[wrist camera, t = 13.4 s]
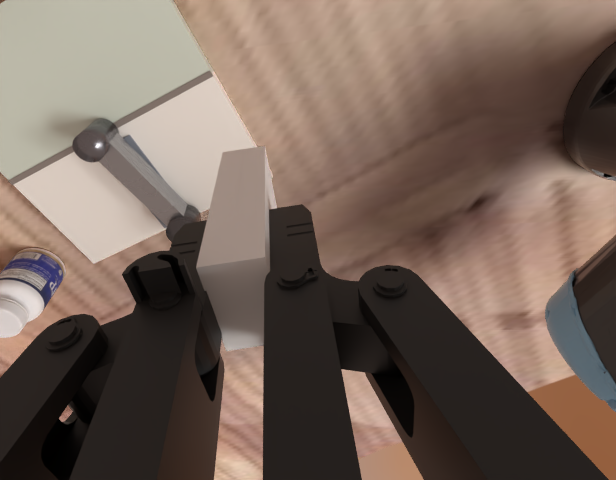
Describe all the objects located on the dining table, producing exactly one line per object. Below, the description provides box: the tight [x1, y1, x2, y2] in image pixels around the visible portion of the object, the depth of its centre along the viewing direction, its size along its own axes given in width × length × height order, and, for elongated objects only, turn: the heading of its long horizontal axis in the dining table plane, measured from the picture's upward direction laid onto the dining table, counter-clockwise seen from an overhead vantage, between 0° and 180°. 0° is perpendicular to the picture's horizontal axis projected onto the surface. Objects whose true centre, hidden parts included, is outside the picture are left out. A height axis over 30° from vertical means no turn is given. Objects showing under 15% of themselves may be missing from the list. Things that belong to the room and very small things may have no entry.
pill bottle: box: [0, 248, 66, 338], centre depth 41 cm, size 5×5×9 cm
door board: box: [0, 0, 273, 264], centre depth 36 cm, size 22×22×1 cm
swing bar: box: [72, 118, 201, 242], centre depth 37 cm, size 13×3×4 cm, turn 33°
